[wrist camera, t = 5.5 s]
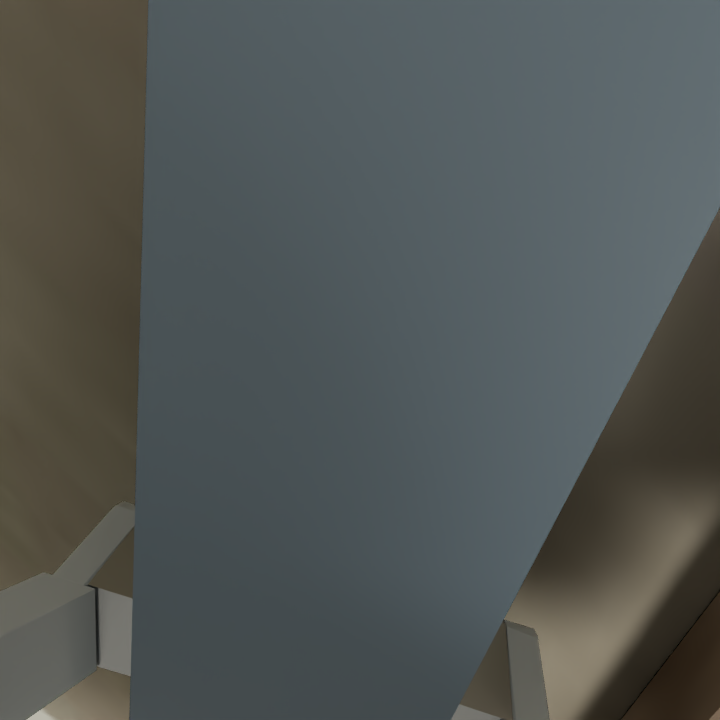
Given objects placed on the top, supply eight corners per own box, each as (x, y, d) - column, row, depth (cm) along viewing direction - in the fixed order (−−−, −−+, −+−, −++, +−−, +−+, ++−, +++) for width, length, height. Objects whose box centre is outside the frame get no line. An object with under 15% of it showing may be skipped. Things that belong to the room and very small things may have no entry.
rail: (342, -173, 6) (164, -576, 2) (692, -97, 6) (1053, -431, 2) (204, 751, 15) (123, 947, 12) (337, 796, 15) (297, 1013, 11)
